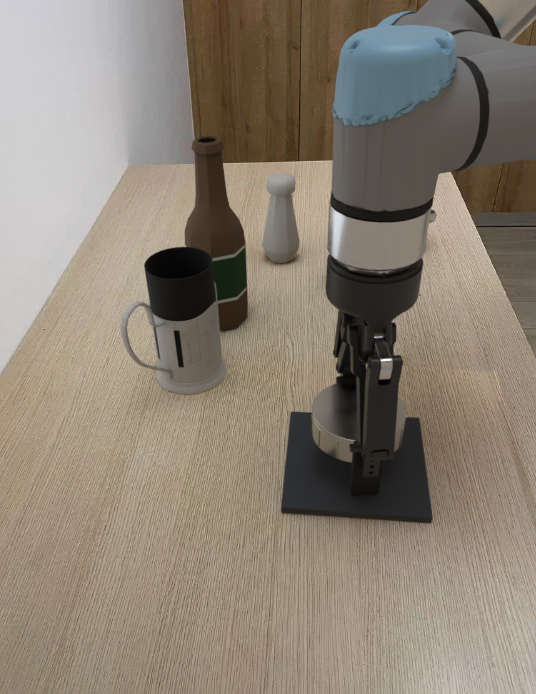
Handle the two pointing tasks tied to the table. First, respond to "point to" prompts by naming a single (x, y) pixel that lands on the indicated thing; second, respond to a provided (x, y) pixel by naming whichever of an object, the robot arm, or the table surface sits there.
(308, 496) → the mat
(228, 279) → the beer bottle
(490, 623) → the table surface
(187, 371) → the glass holder
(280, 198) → the salt shaker
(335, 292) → the robot arm
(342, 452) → the flask lid
